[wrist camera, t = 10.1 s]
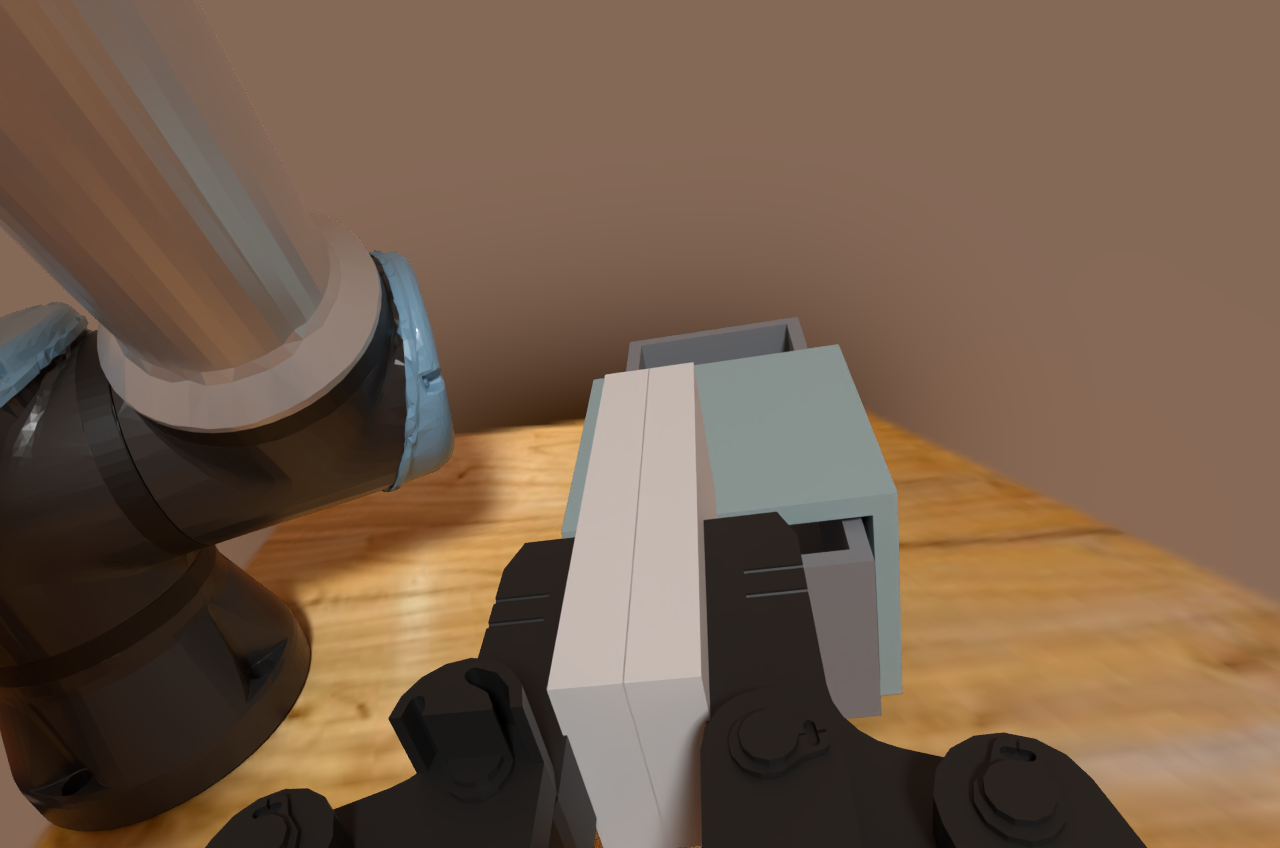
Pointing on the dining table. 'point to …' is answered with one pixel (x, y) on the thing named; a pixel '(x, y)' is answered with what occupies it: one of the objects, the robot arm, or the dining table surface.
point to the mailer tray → (804, 528)
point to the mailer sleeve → (792, 461)
